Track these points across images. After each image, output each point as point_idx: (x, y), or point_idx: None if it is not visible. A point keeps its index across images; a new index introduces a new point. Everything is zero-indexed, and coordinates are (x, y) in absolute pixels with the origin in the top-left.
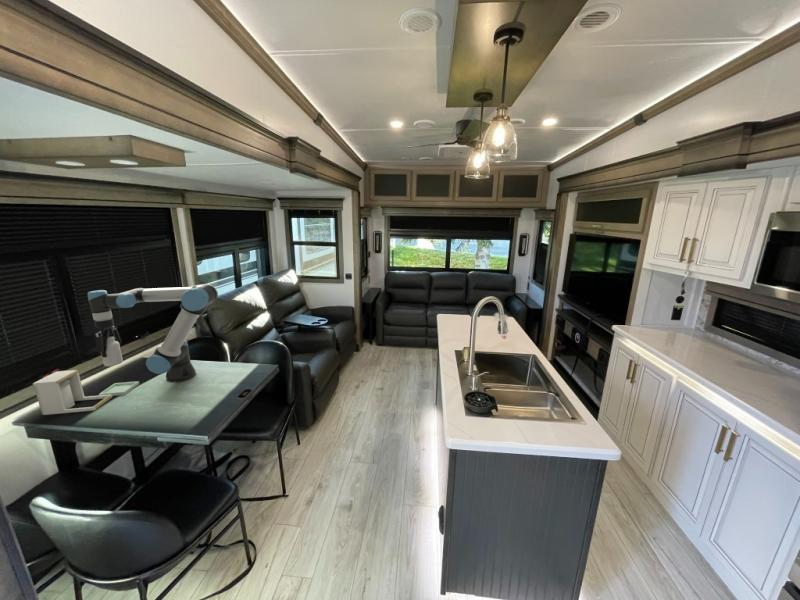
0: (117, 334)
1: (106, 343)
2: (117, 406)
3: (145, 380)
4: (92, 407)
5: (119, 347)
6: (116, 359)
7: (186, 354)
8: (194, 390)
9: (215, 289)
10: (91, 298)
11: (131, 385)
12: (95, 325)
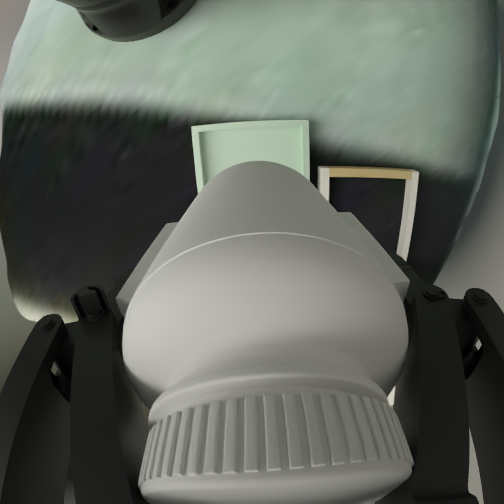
0: (12, 442)
1: (437, 384)
2: (401, 98)
3: (157, 124)
4: (416, 177)
5: (225, 206)
6: (305, 180)
7: None
8: None
9: None
10: None
11: (215, 148)
12: None
